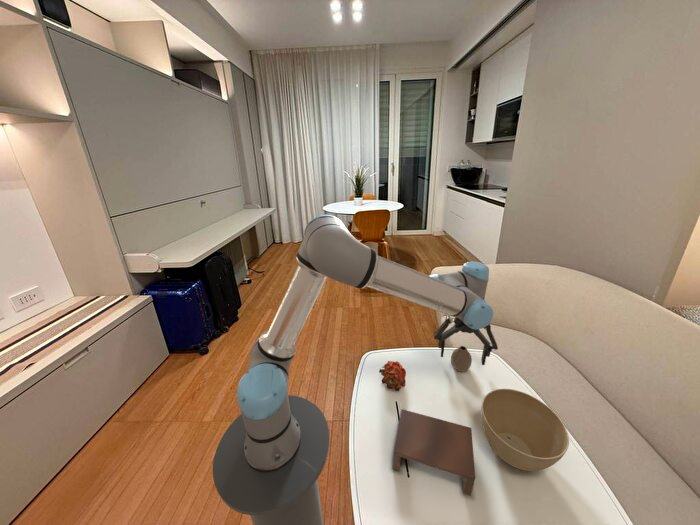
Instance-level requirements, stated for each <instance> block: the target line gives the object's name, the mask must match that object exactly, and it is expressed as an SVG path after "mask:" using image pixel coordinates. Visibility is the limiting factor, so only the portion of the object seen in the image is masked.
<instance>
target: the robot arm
mask: <svg viewBox="0 0 700 525" xmlns="http://www.w3.org/2000/svg"><path fill="white" fill-rule="evenodd" d="M303 233H304V234H303V235H304V236H303V239H302V242H301V244H300V246H299V248H298V251H297V253H296V255H295V259H296V261H297V263H298V264H297V266H296V269H295V271H294V274H293V276H292V278H291V280H290V282H289V284H288V286H287V289H286V291H285V293H284V296H283V297H282V300H281V302H280V304H279V306H278V308H277V311H276V313H275V314H274V317H273V319H272V322H271V323H270V326H269V329H268V330H265V331H263V332H262V333H261V334H260V335H259V338H257V339H256V341H255V342H254V344H253V345H252V347H251V350H250V354H249V361H248V364H247V369H246V370H247V371H246V373H244V374H243V375H242V376H241V378H240V380H239V382H238V384H237V389H236V400H237V405H238V408H239V411H240V414H242V417H243V421H244V424H245V428H246V431H247V433H246V438H245V443H244V454H245V457H246V461H247V463H248V464H249V466H250V467H251V468H253V469H254V470H256V471H259V472H273V471H276V470H278V469H280V468H282V467H284V466H285V465H286V464H288V463H289V462H290V461H291V460H292V459H293V457H294V456H295V455H296V453H297V451H298V449H299V447H300V443H301V431H300V426H299V424H298V422H297V421H296V419H295V418H294V417H293V415H292V414H291V411H290V405H289V399H288V395H289V378H290V377H289V376H290V375H289V374H290V372H289V371H290V365H291V363H292V362H293V359H294V357H295V355H296V353H297V351H298V344H297V342H296V341H297V340H298V338H299V336H300V333H301V331H302V330H303V327H304V325H305V323H306V321H307V319H308V317H309V315H310V314H311V311H312V309H313V307H314V305H315V303H316V301H317V300H318V297H319V295H320V293H321V292H322V289H323V287H324V285H325V283H326V280H328V278H329V279H331V280H334V281H336V282H339V283H342V284H344V285H346V286H349V287H353V288H355V289H359V290H362V289H365V288H366V287H367V288H369V289H373V290H376V291H378V292H381V293H384V294H387V295H390V296H393V297H395V298H399V299H402V300H404V301H407V302H410V303H414V304H416V305H420V306H422V307H425V308H428V309H430V310H434V311H436V312H438V313H442V314H445V315H446V316H445V320H444V321H443V322H442V324H441V325H440V326H439V327H438V328H437V330H436V331H435V332H434V334H433V339H434V340H437V341H438V348H439V349H440V357H441V358H444V352H445V344H446V340H447V339H448V338H450V337H451V336H453V335H455V334H457V333H459V332H461V333H467V334H474V335H475V336H476V337H477V338H478V339H479V341H480V342H481V343H482V344H483V348H482V353H481V360H480V361H481V365H482V366H485V365H486V359H487V357H488V358H490V356H491V352H492V351H493V350H495V351H497V350H498V349H499V347H498V343H497V340H496V338H495V336H494V333H493V332H492V326H491V321H492V320H493V318H494V309H493V307H492V306H491V305H490V304H489V303H488V302H487V301H486V300H485V297H486V293H487V289H488V283H489V281H490V280H489V277H490V276H489V275H490V268H489V267H488V265H486V264H485V263H483V262H479V261H467V262H465V263H463V265H462V267H461V270H457V271H451V272H441V273H436V274H430V275H428V274H426V273H423V272H420V271H418V270H416V269H413V268H410V267H408V266H405V265H403V264H400V263H399V262H398V263H397V262H395V261H394V260H393V261H392V260H390V259H387V258H385V257H383V256H380V255H378V251H377V250H376V249H374V248H372V247H369V246H368V245H365V244H364V243H363V242H361V241H359V240H358V239H357V238H355V236H353V234H352V233H351V231H349V228H348V226H347V225H346V223H344V221H342V220H341V219H339V218H338V217H337V216H335V215H331V214H321V215H317V216H315V217H313V218H312V219H311V220H309V222H308V223H307V224H306V226H305V228H304V232H303ZM452 323H454V324H453V325H452ZM450 325H452V326H451V327H449V326H450ZM448 327H449V328H448ZM447 328H448V329H447ZM446 329H447V330H446ZM482 329H483V330H485V332H486V334H487V336H488V339H489V340H490V341H489V340H488V339H487V338H486V336H485V335H484V334H483V333H482V331H481V330H482Z"/></svg>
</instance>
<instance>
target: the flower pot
mask: <svg viewBox="0 0 700 525" xmlns="http://www.w3.org/2000/svg"><path fill="white" fill-rule="evenodd" d="M481 423H482V427H483V432H484V434H485V437H486V440H487V441H488V443H489V445H490V447H491V448H492V449H493V451H494V452H495V454H496V455H497V456H498V457H499V458H500V459H502V460H503V461H504V462H505V463H506V464H508V465H510V466H512V467H513V468H515V469H518V470H521V471H528V472H537V471H542V470H545V469H549V468H551V467H552V466H554V465H555V464H557V463H558V462H559V461H560V460H561V459H562V458H563V457H564V455H565V454H566V453H567V451H568V449H569V447H570V446H569V445H570V436H569V432H568V430H567V428H566V426H565V424H564V422H563V421H562V419H561V418H560V417H559V416H558V414H557V413H556V412H555V411H554V410H552V408H550V406H548V405H547V404H546V403H544V402H543V401H541V400H540V399H538V398H536V397H535V396H533V395H531V394H529V393H527V392H524V391H521V390H517V389H511V388H497V389H494V390H491V391H490V392H488V393H486V394H485V396H484V397H483V400H482V403H481Z"/></svg>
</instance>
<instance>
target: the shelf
mask: <svg viewBox="0 0 700 525" xmlns="http://www.w3.org/2000/svg"><path fill="white" fill-rule="evenodd" d="M398 421H399V422H398V426H397V431H396V436H395V441H394V447H393V453H392V454H393V457H392V470H394V471H396V472H400V469H401V462H402V458H403V459H405V460H409V461H412V462H415V463H418V464H421V465H424V466H427V467H430V468H432V469H437V470H440V471H442V472H446V473H449V474H452V475H455V476H458V477H461V478H462V493H463V495H466V496H469V497H471V496H472V493H473V489H474V485H475V480H476V470H475V457H474V444H473V431H472V427H469V426H466V425H463V424H458V423H455V422H451V421H447V420H443V419H440V418H436V417H433V416H428V415H426V414H422V413H418V412H415V411H410V410H407V409H403V408H401V410H400V415H399V420H398Z"/></svg>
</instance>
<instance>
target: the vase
mask: <svg viewBox="0 0 700 525" xmlns="http://www.w3.org/2000/svg"><path fill="white" fill-rule="evenodd" d="M450 363H451V366H452V367H453V369H455V370H456V371H459V372H466V371H468V370H469V369H470V368H471V367H472V364H473V359H472V354H471V353H470V351H469V350H468V349H467V347H466V346H464V345H460V346H459V347H457V348H456V349H454V350H453V351H452V353H451V356H450Z"/></svg>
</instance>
